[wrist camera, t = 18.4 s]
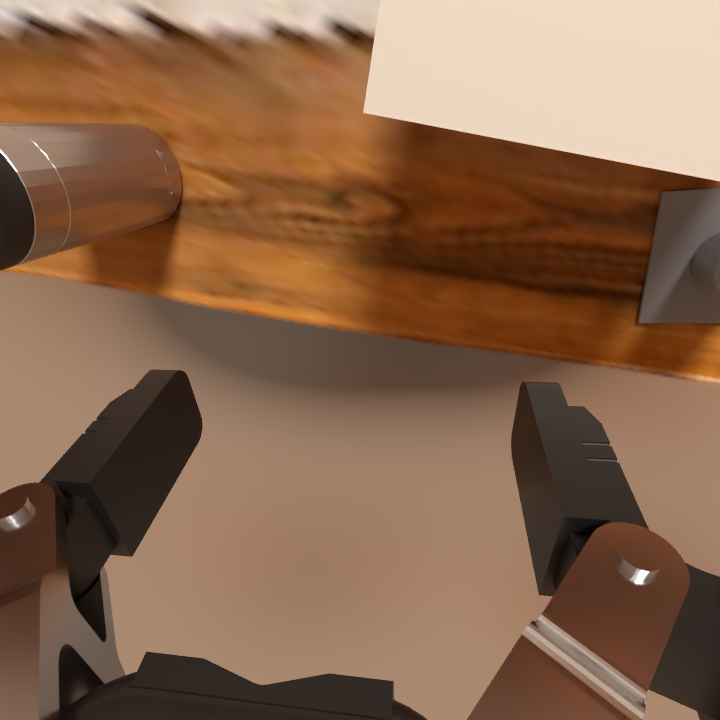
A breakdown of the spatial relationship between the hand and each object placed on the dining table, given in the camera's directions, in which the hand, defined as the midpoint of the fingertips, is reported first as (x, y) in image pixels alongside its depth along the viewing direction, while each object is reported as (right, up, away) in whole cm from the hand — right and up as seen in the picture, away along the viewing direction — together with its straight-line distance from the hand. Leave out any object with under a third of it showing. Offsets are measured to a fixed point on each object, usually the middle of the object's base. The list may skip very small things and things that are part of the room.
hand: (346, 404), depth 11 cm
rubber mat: (+30, +9, +26) cm, 41 cm away
